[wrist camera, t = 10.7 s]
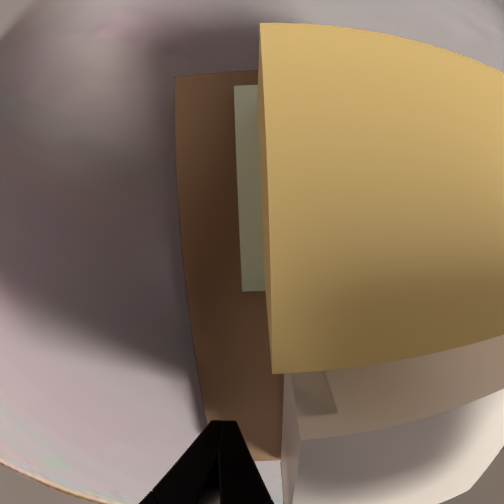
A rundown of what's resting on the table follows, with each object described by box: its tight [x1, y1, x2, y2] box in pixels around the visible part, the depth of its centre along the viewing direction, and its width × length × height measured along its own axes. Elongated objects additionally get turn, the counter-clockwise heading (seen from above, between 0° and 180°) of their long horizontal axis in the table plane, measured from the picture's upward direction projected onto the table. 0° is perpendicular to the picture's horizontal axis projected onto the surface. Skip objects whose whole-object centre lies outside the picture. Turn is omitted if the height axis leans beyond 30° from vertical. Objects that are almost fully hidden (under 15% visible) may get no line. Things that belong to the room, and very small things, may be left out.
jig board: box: [175, 70, 284, 461], centre depth 7 cm, size 16×13×3 cm
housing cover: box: [281, 335, 504, 504], centre depth 7 cm, size 7×6×4 cm
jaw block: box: [257, 23, 504, 374], centre depth 5 cm, size 4×4×4 cm
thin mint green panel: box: [234, 85, 265, 292], centre depth 7 cm, size 5×5×1 cm
